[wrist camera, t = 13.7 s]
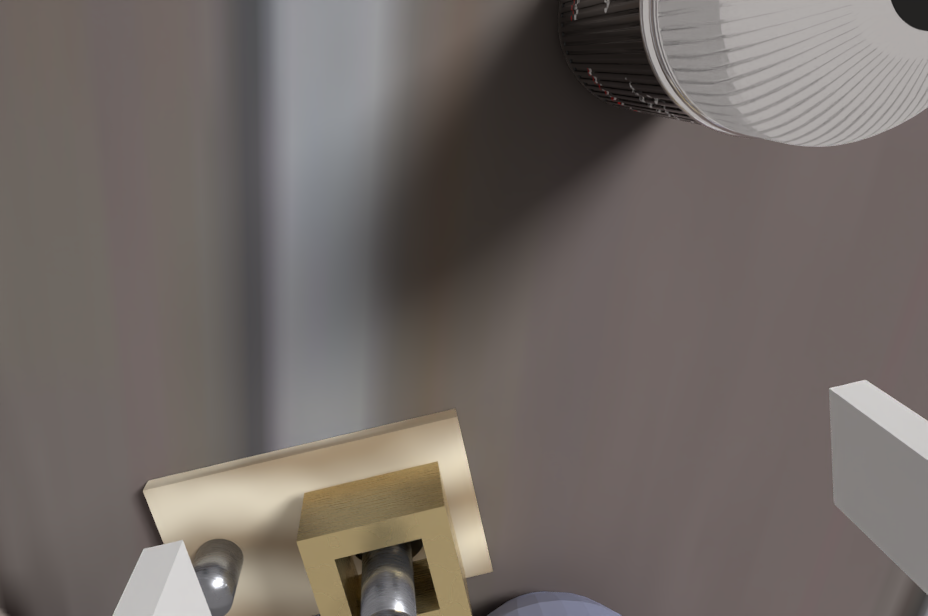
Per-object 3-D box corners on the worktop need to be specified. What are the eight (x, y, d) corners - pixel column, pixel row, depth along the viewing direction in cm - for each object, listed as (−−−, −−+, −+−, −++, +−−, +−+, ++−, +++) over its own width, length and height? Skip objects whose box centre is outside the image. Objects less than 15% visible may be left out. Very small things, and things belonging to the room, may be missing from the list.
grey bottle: (680, 137, 45) (1013, 223, 22) (522, 75, 43) (699, 95, 20) (757, -40, 43) (1229, -160, 19) (592, -115, 41) (894, -354, 17)
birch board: (148, 480, 48) (142, 490, 47) (455, 408, 49) (457, 416, 48) (206, 629, 52) (202, 642, 51) (490, 560, 53) (492, 571, 52)
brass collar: (304, 492, 47) (296, 541, 42) (437, 461, 47) (444, 506, 42) (338, 602, 50) (335, 659, 45) (464, 571, 50) (474, 625, 45)
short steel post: (189, 545, 49) (174, 585, 45) (235, 533, 49) (224, 573, 45) (204, 582, 50) (190, 626, 46) (249, 571, 50) (239, 614, 46)
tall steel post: (337, 494, 49) (325, 626, 38) (416, 475, 49) (428, 600, 38) (357, 560, 51) (351, 706, 39) (433, 542, 51) (450, 681, 39)
